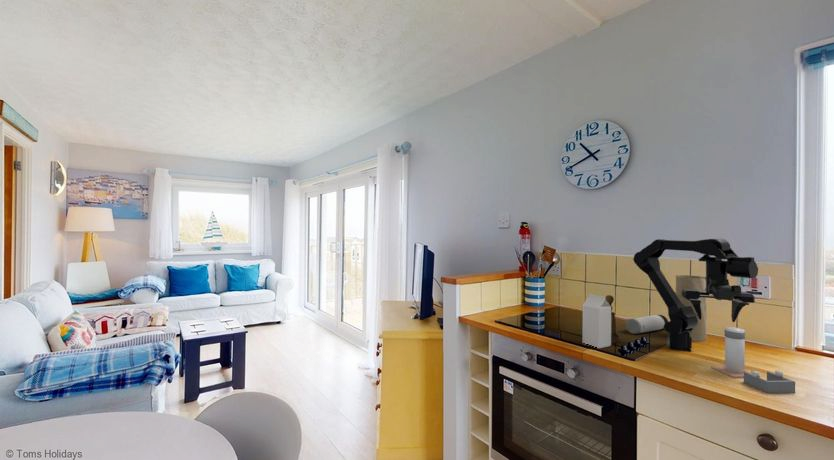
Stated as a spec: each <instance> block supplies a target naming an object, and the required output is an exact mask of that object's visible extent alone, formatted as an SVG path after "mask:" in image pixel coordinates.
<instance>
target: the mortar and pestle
mask: <svg viewBox="0 0 834 460" xmlns="http://www.w3.org/2000/svg"><path fill="white" fill-rule="evenodd" d="M604 297H605V300H606V301H607V302H608V303H609V305H610V306H611V344H618V343H619V342H620V340H619V335H618V334H617V333H616V331H615V330H616V327H615V326H616V320H615V319H616V318H615V317H616V313H615V312H613V306H612V304H613V302H614V300H615V298H614V296H613V295H606V296H604Z"/></svg>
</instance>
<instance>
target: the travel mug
mask: <svg viewBox="0 0 834 460" xmlns="http://www.w3.org/2000/svg"><path fill="white" fill-rule="evenodd" d="M668 322H669V319H668V318H667V317H666V316H665V315H663V314H654V315H647V316H640V317H635V318H628V319H627V320H626V322H625V327H626V330H627V331H628V333H630V334H633V335H637V334H642V333H648V332H653V331H659V330H663V329H664V330H665V328H664V325H665V324H667V323H668Z"/></svg>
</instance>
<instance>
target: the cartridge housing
mask: <svg viewBox="0 0 834 460" xmlns="http://www.w3.org/2000/svg"><path fill="white" fill-rule="evenodd" d="M750 372H751V374H750V373H748V372H744V378H743V383H744V384H747V385H749V386H751V387H754V388H756V389H758V390H760V391H762V392H765V393H767V394H780V393H781V394H785V393H786V394H787V393H789V394H790V393H792V394H793V393H796V381H795V380H792V379H789V378H787V377H784V371H781V370H775V371H774V372H771V371H766V379H764V378H761V376H760V372H759V371H756V370H751V371H750ZM759 376H760V377H759Z"/></svg>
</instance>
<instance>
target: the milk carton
mask: <svg viewBox="0 0 834 460" xmlns="http://www.w3.org/2000/svg"><path fill="white" fill-rule="evenodd" d="M605 297H606V296H604V295H603V296H602V295H597V294H591V293H588V297H587V298H586V300H585V301H584V303H583V304H582V344H583V343H585V344H584V345H586V344H589V345H592V346H594V347H593V348H595V347H597V348H596V349H603V348H607V347H611V346H612V343H611V312H612V311H611V306H612V305H611V306H610V305H609V303H608V302H607V301H606V300H605ZM589 345H588V346H589ZM592 346H591V347H592Z"/></svg>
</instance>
